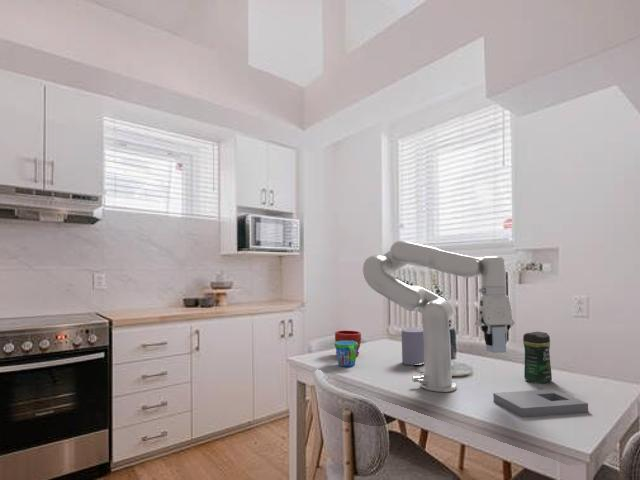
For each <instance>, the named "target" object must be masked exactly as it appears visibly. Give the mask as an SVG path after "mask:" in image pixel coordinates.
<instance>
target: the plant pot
mask: <svg viewBox="0 0 640 480" xmlns="http://www.w3.org/2000/svg"><path fill="white" fill-rule="evenodd" d="M334 341H335V342H338V341H355V342H357V343H358V346H357V351H356V357H358V356H359V355H360V352H359V349H360V347H361V341H362V333H361V332H360V331H356V330H337V331H334ZM335 342H334V343H335ZM335 354H336V355H337V352H336V351H335Z"/></svg>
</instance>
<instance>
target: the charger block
mask: <svg viewBox="0 0 640 480" xmlns="http://www.w3.org/2000/svg"><path fill="white" fill-rule="evenodd" d="M491 334H492V346H490V345H487V344H486V343H485V347H486V351H487V352H490V353H493V354H499V353H500V354H501V353H507V341H506V340H507V335H506V336H505V325H491Z"/></svg>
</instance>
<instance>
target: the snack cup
mask: <svg viewBox="0 0 640 480" xmlns="http://www.w3.org/2000/svg"><path fill="white" fill-rule="evenodd" d="M357 346H358V343H357V342H355V341H353V340H352V341H347V340H346V341H338V342H334V347H335V350H336V351H335V353H336V352H337V354H336V358H337V364H338V366H340V367H346V368H347V367H354V366H355V365H356V360H357V356H356V351H357Z"/></svg>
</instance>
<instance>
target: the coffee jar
mask: <svg viewBox="0 0 640 480" xmlns="http://www.w3.org/2000/svg"><path fill="white" fill-rule="evenodd" d="M550 337H551V336H550V335H549V334H548V333H547V332H544V331H533V332H526V333H525V334H523V337H522V340H523V341H522V342H523V347H524V372H523V373H524V379H525V380H527V381H528V382H530V383H533V384H535V383H537V384H546V383H550V382H552V380H553V376H552V375H553V374H552V366H551V356H550V349H551V348H550V347H551V339H550Z"/></svg>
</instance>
